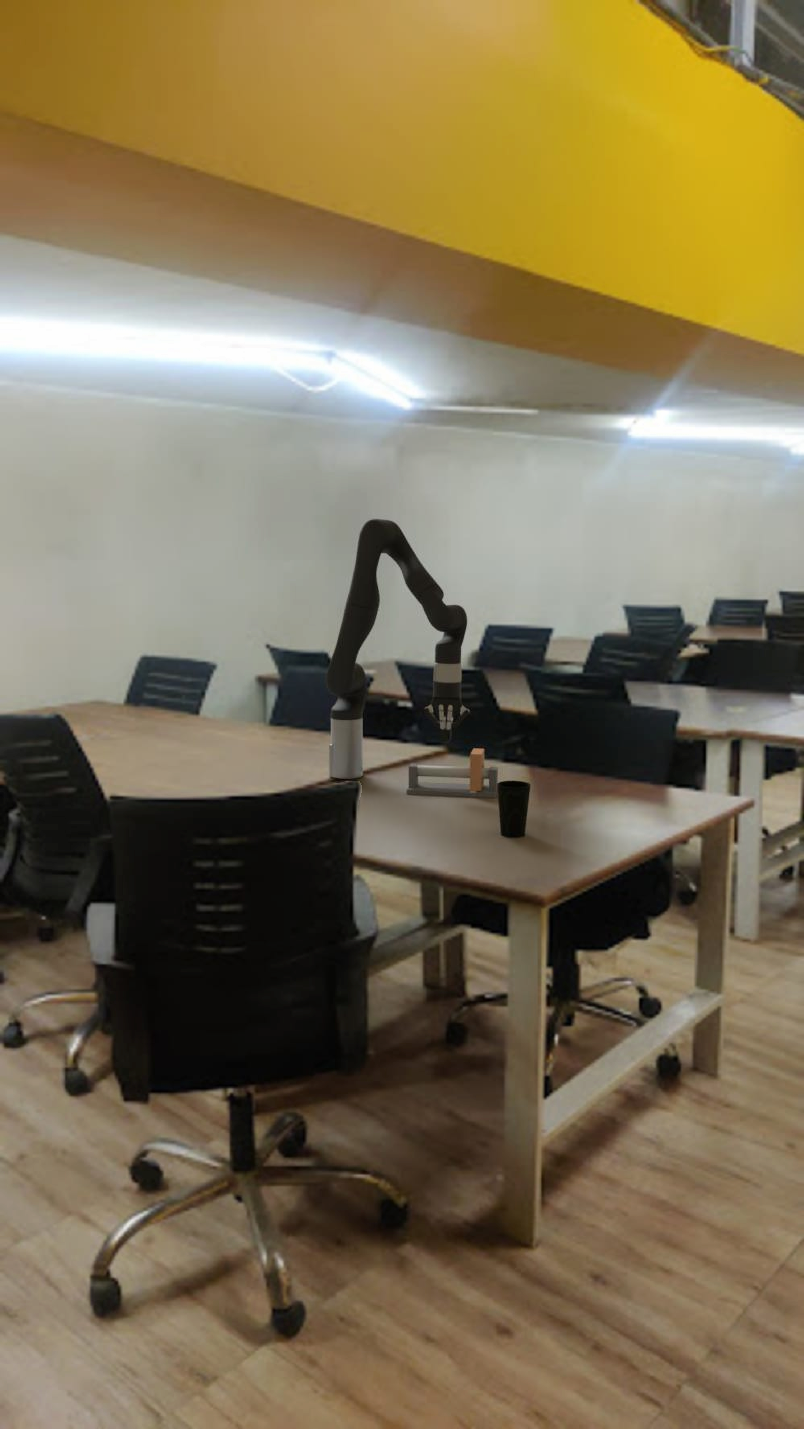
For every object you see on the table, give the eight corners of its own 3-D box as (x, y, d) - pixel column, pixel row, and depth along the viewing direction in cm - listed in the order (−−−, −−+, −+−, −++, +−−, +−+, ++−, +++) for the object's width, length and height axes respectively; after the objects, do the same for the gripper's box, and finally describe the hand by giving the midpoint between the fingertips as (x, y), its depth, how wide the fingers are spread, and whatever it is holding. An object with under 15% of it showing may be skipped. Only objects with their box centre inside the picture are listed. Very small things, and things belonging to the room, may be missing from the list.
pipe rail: (406, 794, 278) (406, 768, 277) (412, 785, 288) (412, 761, 286) (495, 797, 274) (495, 771, 273) (498, 789, 283) (498, 764, 282)
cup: (493, 830, 242) (494, 780, 240) (525, 829, 243) (526, 780, 241) (499, 839, 234) (500, 788, 232) (532, 838, 235) (533, 787, 233)
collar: (469, 790, 276) (470, 754, 274) (472, 783, 283) (473, 748, 282) (480, 791, 275) (481, 754, 274) (483, 784, 283) (484, 748, 281)
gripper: (420, 680, 273) (419, 743, 276) (470, 682, 271) (468, 746, 274) (425, 676, 281) (423, 738, 284) (473, 678, 278) (471, 741, 281)
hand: (445, 742), depth 279 cm, fingers closed
